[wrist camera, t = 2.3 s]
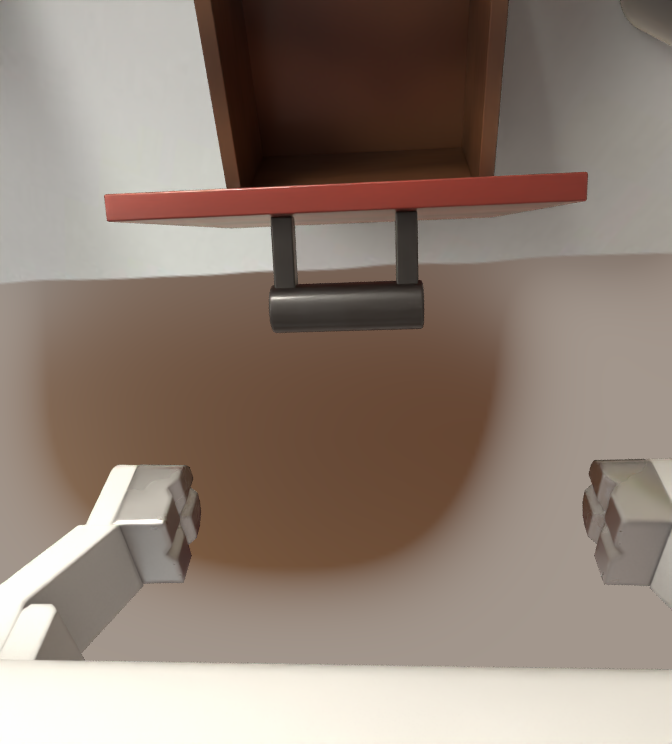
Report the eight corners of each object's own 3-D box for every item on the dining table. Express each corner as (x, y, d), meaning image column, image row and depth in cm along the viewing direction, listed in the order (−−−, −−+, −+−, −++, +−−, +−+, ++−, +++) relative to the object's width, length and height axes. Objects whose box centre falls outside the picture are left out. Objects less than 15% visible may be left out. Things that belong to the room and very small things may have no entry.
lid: (103, 194, 19) (120, 346, 20) (588, 171, 18) (582, 333, 19) (229, 213, 34) (235, 298, 35) (493, 201, 33) (492, 289, 34)
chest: (212, -128, 32) (170, -133, 26) (491, -152, 31) (523, -164, 25) (254, 165, 41) (231, 217, 35) (472, 154, 40) (491, 206, 34)
